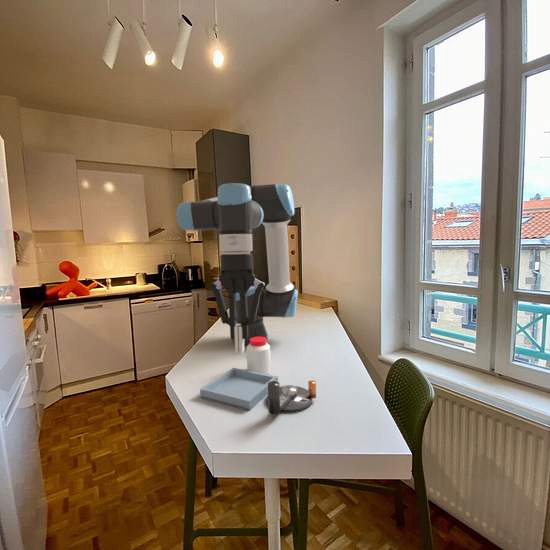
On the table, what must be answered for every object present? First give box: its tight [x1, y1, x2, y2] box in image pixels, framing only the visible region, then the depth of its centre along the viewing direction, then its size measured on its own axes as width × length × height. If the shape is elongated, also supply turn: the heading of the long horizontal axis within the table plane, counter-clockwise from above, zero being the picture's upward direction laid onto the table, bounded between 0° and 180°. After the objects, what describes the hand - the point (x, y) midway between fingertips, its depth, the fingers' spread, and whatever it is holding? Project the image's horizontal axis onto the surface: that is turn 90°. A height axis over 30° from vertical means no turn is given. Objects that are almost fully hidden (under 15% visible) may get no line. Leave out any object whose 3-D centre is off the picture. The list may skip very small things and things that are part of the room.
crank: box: [267, 381, 297, 416], centre depth 80 cm, size 12×4×7 cm, turn 153°
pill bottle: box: [246, 337, 272, 375], centre depth 103 cm, size 8×8×11 cm
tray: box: [199, 367, 279, 412], centre depth 90 cm, size 16×16×2 cm
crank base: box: [266, 380, 317, 413], centre depth 84 cm, size 13×12×5 cm
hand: (239, 351), depth 75 cm, fingers closed
